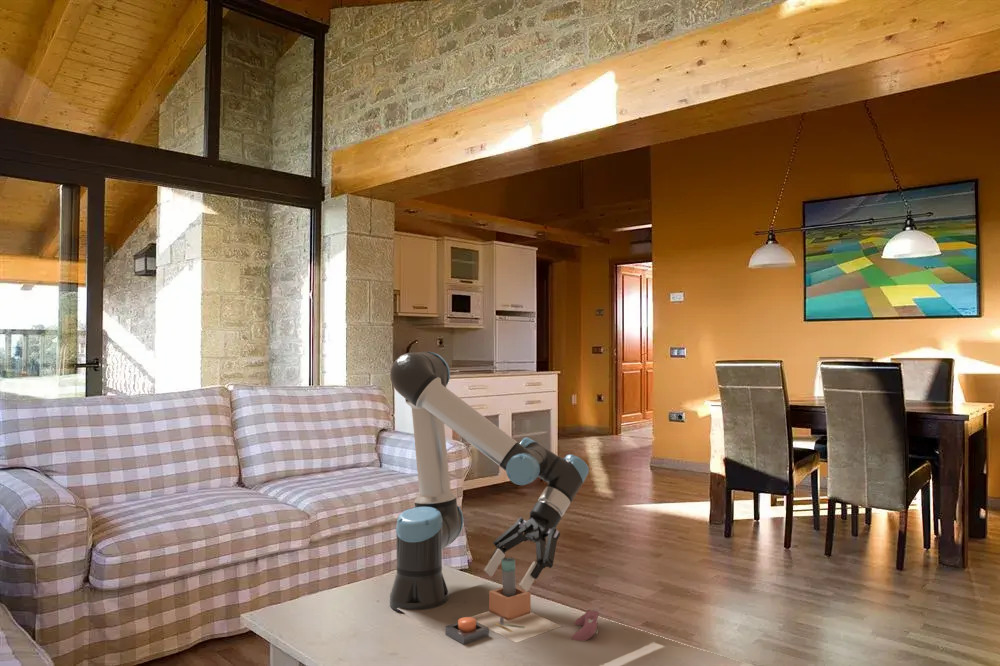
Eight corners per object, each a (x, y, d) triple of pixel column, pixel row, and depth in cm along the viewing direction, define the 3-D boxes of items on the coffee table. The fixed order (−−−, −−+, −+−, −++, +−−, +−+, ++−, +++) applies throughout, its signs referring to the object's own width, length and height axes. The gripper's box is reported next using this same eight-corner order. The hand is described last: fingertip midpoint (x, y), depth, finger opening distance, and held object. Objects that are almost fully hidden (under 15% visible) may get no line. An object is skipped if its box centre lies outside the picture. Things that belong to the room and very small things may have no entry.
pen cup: (489, 611, 173) (489, 591, 173) (511, 604, 177) (511, 584, 177) (508, 620, 167) (507, 599, 167) (530, 613, 172) (530, 592, 172)
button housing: (445, 639, 159) (445, 626, 159) (470, 631, 164) (470, 618, 164) (463, 650, 154) (463, 636, 154) (488, 641, 158) (488, 628, 158)
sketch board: (461, 622, 169) (461, 617, 169) (512, 606, 179) (512, 601, 179) (515, 650, 153) (515, 645, 153) (567, 631, 164) (567, 626, 164)
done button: (454, 628, 159) (454, 620, 159) (468, 624, 162) (468, 615, 162) (465, 634, 156) (465, 625, 156) (479, 629, 159) (479, 621, 159)
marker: (500, 609, 172) (498, 559, 173) (510, 606, 174) (509, 557, 175) (509, 612, 170) (507, 562, 171) (519, 609, 172) (517, 559, 173)
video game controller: (587, 653, 156) (602, 626, 155) (569, 642, 156) (583, 615, 156) (590, 635, 165) (603, 609, 165) (572, 625, 166) (586, 599, 166)
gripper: (592, 527, 173) (547, 603, 163) (525, 509, 192) (482, 576, 182) (576, 509, 169) (530, 586, 160) (510, 492, 189) (465, 559, 179)
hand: (504, 580), depth 171 cm, fingers open, 13 cm apart
